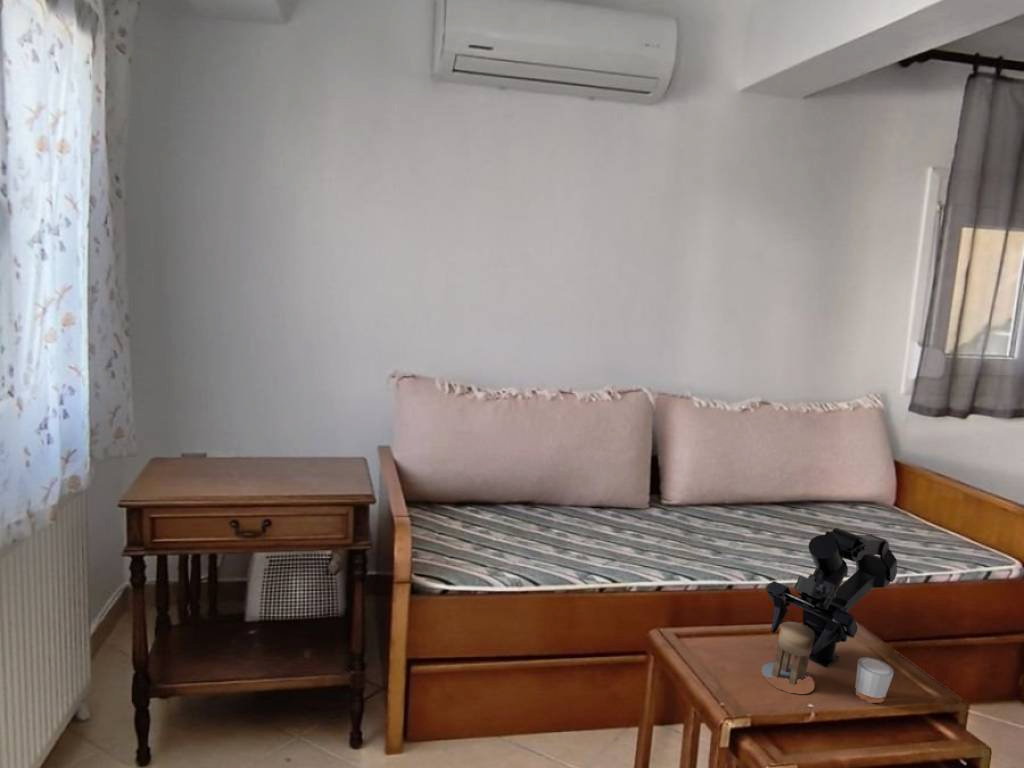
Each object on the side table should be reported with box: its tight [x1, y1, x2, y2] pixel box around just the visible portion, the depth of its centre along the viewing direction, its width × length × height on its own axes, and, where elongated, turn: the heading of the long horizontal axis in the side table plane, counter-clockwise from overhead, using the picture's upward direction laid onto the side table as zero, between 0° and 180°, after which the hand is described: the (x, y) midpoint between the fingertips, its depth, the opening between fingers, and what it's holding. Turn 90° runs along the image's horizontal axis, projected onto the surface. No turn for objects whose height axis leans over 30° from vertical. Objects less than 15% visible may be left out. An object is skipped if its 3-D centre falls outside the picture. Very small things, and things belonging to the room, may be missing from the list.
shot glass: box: [854, 656, 894, 698], centre depth 164 cm, size 7×7×7 cm
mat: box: [760, 661, 811, 680], centre depth 168 cm, size 11×11×1 cm
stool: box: [772, 621, 815, 685], centre depth 166 cm, size 7×7×11 cm
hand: (792, 642), depth 165 cm, fingers open, 9 cm apart
